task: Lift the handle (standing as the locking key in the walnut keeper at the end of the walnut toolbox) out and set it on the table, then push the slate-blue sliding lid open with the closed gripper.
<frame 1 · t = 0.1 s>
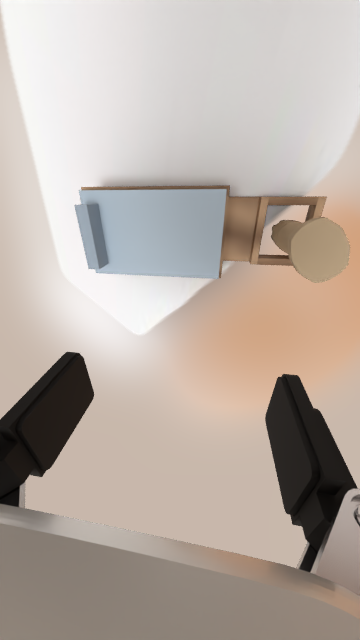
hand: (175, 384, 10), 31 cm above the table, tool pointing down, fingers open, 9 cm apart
lid: (150, 238, 29), point 9 cm above the table, slide at 0.0 cm
toolbox: (164, 229, 36), on the table
handle: (280, 231, 34), resting in toolbox
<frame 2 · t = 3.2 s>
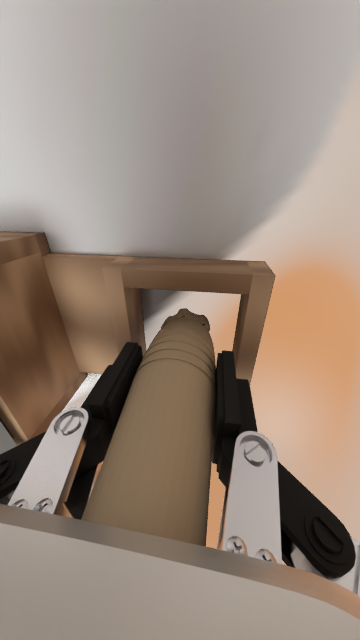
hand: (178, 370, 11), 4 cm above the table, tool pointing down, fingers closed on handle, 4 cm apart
handle: (188, 325, 15), resting in toolbox, touching gripper
when the fingers open (6 cm above the table, at t = 8.0 s): handle drops 1 cm, on the table.
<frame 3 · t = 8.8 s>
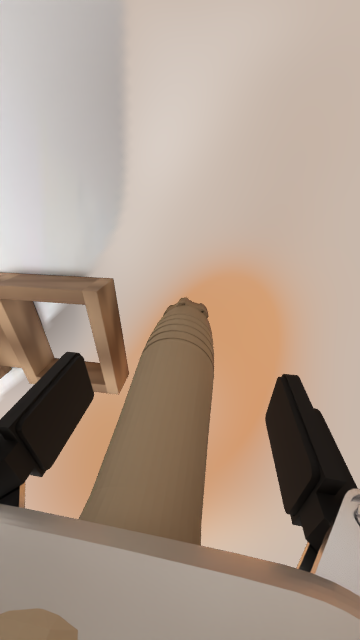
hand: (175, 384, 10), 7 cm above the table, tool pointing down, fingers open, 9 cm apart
handle: (188, 313, 16), on the table
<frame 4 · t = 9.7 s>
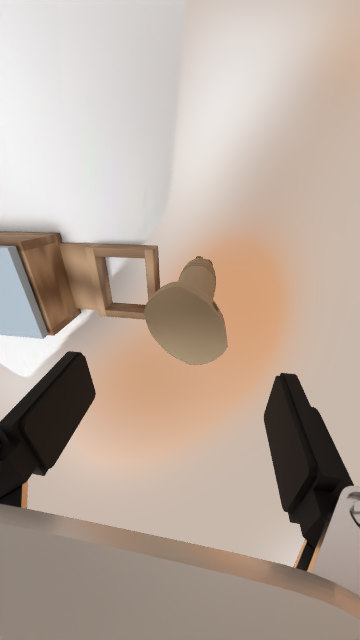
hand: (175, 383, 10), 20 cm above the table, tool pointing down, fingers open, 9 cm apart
toolbox: (11, 273, 32), on the table
handle: (200, 267, 28), on the table
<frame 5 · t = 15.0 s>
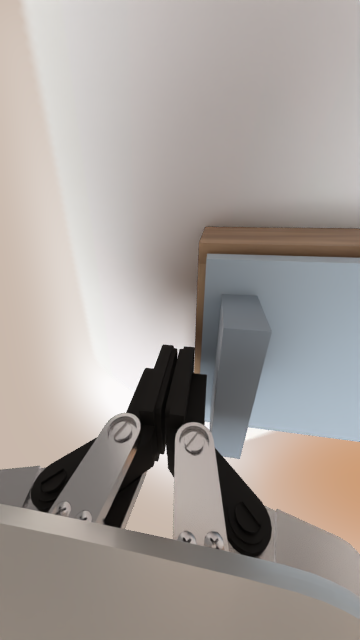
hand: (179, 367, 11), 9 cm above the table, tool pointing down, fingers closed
toolbox: (322, 306, 17), on the table
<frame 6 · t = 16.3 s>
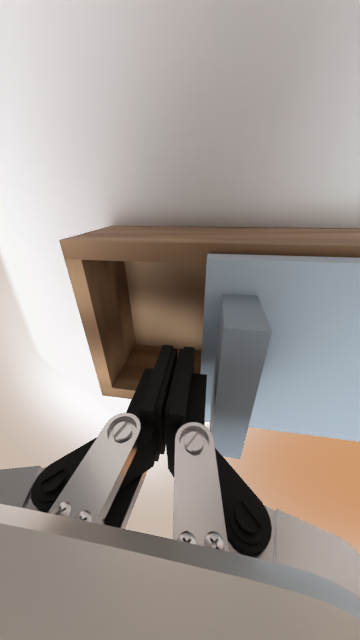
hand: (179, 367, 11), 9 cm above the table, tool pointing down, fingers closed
toolbox: (231, 301, 18), on the table
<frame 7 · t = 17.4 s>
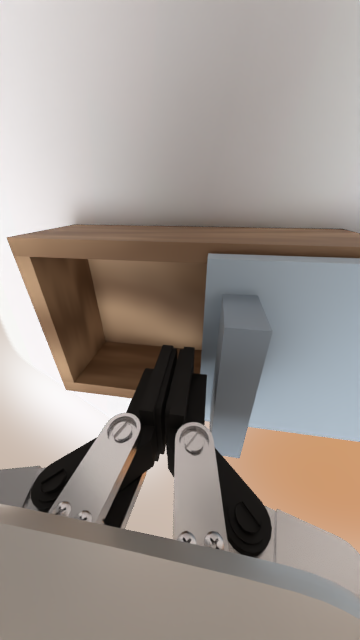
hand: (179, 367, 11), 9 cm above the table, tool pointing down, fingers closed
toolbox: (194, 299, 19), on the table
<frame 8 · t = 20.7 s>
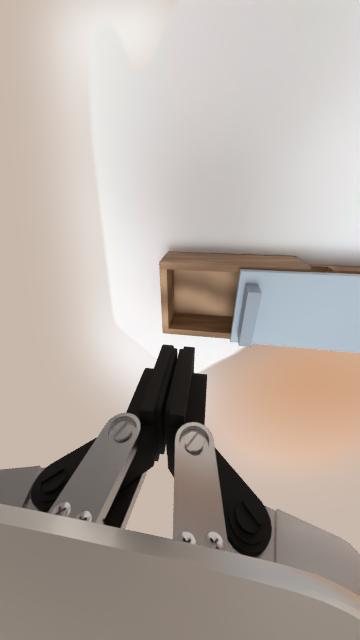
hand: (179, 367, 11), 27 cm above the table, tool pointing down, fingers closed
lid: (309, 318, 28), point 9 cm above the table, slide at 10.7 cm
toolbox: (225, 288, 37), on the table
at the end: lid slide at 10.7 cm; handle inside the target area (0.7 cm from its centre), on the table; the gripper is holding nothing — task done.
